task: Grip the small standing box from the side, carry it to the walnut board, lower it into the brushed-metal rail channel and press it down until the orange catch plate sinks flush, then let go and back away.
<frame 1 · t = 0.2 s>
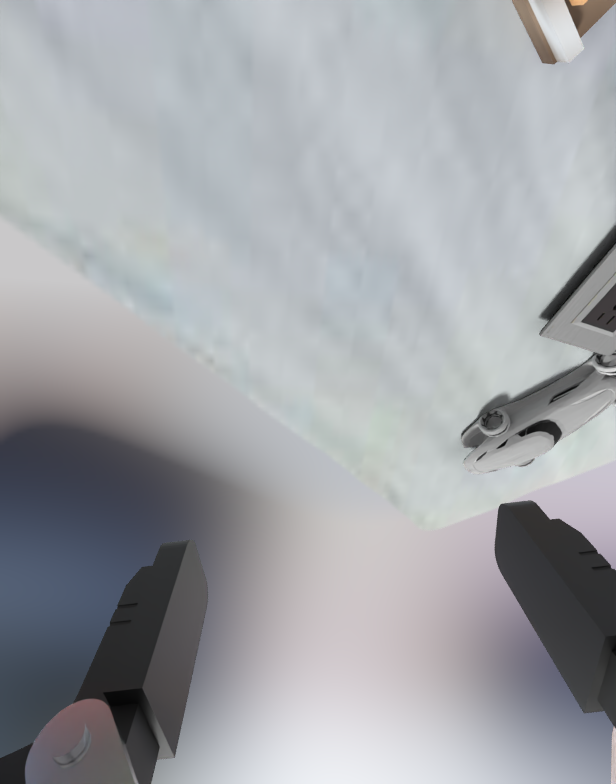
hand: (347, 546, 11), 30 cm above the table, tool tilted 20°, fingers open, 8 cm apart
car model: (536, 409, 55), on the table
electrical outlet: (609, 285, 43), on the table
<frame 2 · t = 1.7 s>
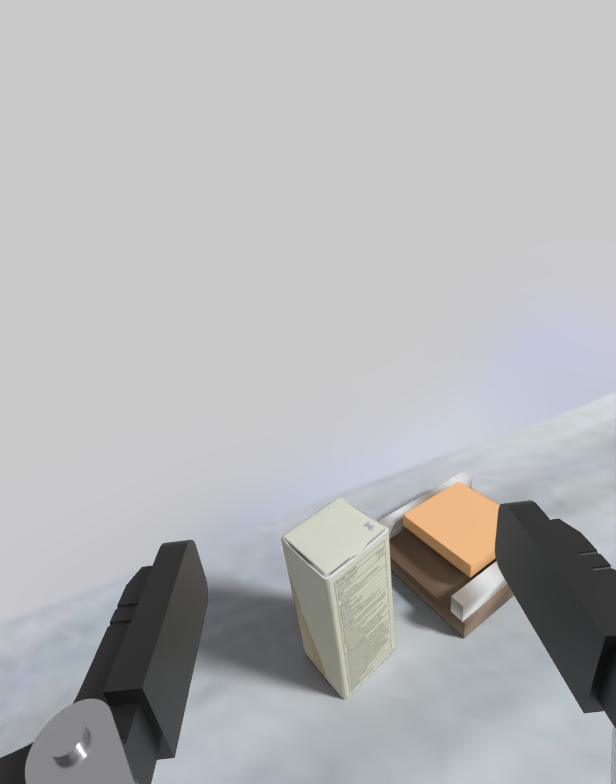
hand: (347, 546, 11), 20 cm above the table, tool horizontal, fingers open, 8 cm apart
box: (348, 653, 28), on the table
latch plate: (463, 523, 33), point 3 cm above the table, slide at 0.0 cm
rail board: (461, 552, 34), on the table
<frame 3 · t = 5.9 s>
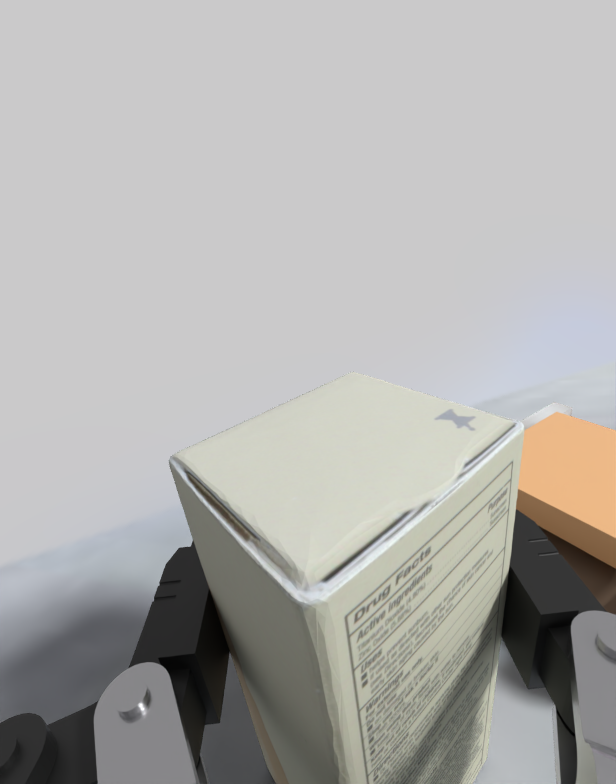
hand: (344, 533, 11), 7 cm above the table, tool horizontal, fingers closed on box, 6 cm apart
box: (373, 770, 12), on the table, touching gripper
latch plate: (590, 477, 17), point 3 cm above the table, slide at 0.0 cm
rail board: (578, 536, 18), on the table
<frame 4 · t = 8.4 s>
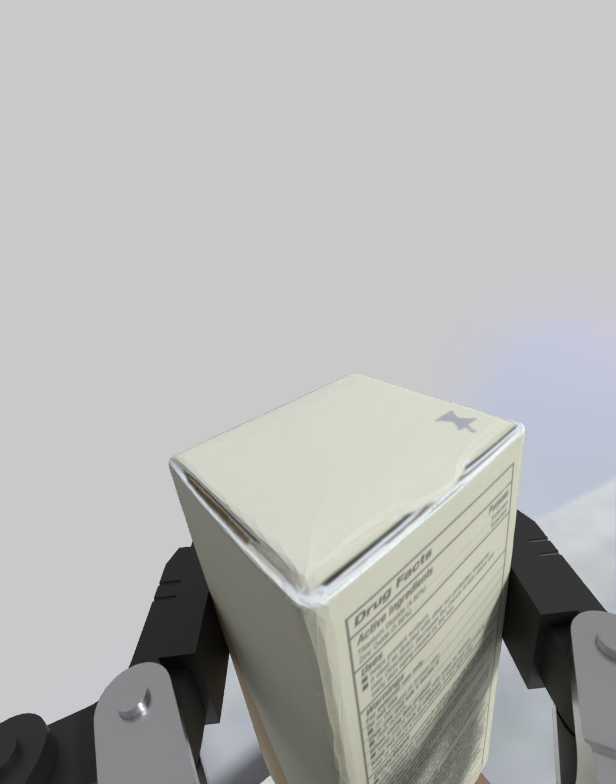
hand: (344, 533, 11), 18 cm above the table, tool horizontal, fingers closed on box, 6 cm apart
box: (373, 772, 12), point 11 cm above the table, touching gripper
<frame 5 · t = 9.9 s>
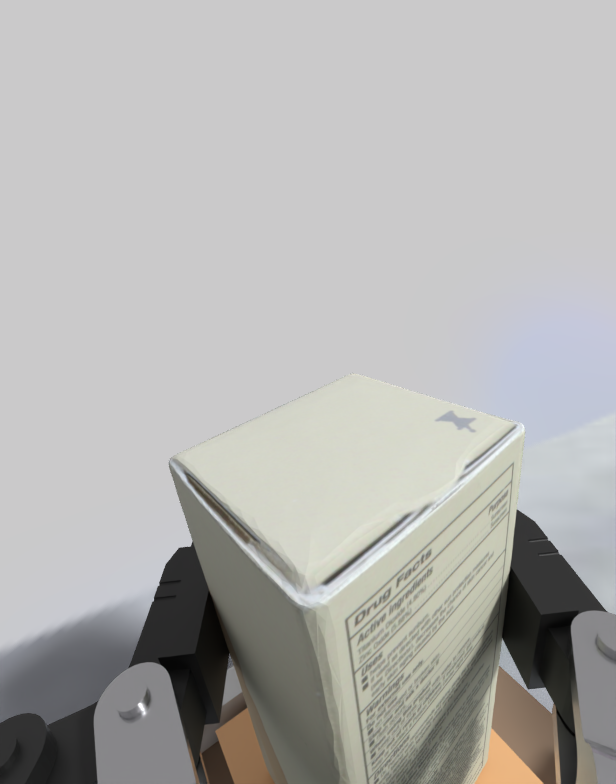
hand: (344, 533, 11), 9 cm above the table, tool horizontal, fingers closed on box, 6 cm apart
box: (373, 773, 12), point 3 cm above the table, touching gripper, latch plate
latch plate: (370, 771, 12), point 2 cm above the table, slide at -1.0 cm, touching box
when the fingers open (9 cm above the table, at t = 11.2 s): box stays where it is, resting on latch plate.
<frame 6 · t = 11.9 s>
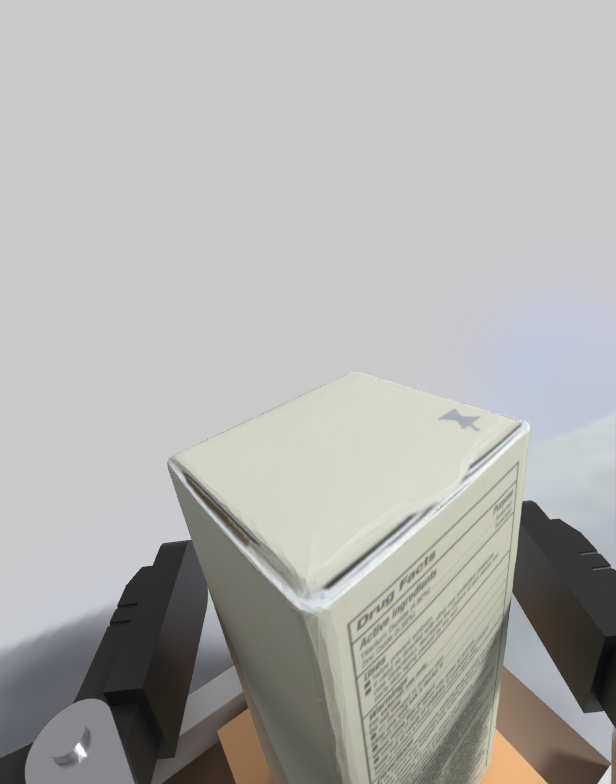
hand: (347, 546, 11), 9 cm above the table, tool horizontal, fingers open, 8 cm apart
box: (376, 774, 11), point 3 cm above the table, touching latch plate
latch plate: (373, 772, 12), point 2 cm above the table, slide at -1.1 cm, touching box
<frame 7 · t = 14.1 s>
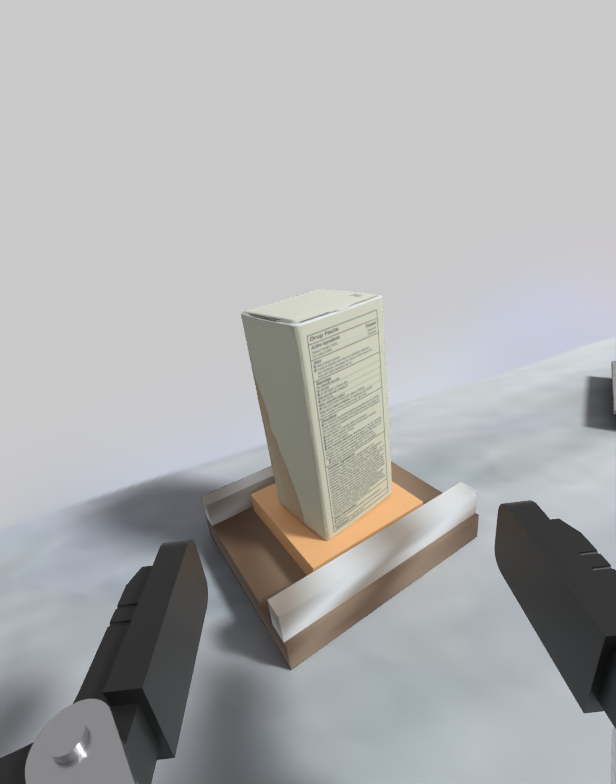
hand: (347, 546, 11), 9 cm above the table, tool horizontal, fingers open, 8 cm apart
box: (334, 503, 22), point 3 cm above the table, touching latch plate
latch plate: (333, 506, 23), point 2 cm above the table, slide at -1.1 cm, touching box
rail board: (336, 535, 23), on the table
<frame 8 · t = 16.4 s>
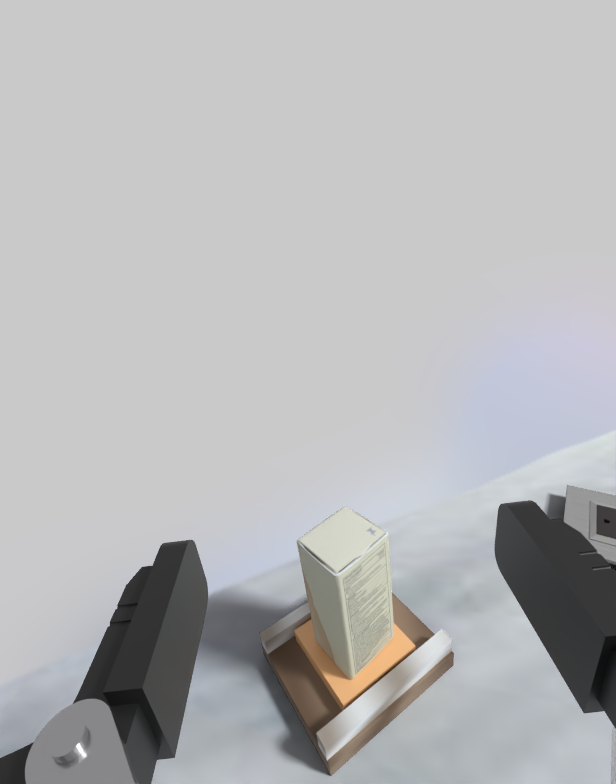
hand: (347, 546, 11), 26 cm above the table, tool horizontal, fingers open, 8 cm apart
box: (354, 641, 32), point 3 cm above the table, touching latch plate
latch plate: (353, 642, 32), point 2 cm above the table, slide at -1.1 cm, touching box
rail board: (354, 659, 33), on the table
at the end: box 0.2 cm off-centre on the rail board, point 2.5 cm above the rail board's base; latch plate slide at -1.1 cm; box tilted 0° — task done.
